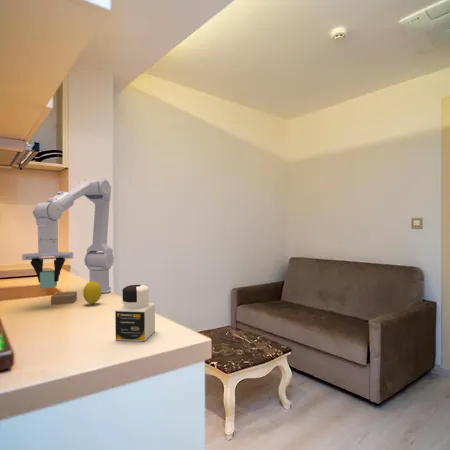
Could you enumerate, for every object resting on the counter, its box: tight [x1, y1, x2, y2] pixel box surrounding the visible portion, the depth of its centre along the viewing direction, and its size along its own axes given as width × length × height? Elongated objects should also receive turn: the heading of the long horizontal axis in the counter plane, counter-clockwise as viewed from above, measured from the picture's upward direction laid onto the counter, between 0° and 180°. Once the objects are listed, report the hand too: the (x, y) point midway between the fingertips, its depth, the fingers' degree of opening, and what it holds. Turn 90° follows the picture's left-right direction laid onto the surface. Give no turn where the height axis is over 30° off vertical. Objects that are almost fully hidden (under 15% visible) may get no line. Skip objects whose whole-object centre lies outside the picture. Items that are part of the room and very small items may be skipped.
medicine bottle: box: [114, 284, 156, 342], centre depth 79 cm, size 7×7×12 cm
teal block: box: [39, 269, 58, 289], centre depth 107 cm, size 4×4×5 cm
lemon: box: [82, 281, 102, 306], centre depth 110 cm, size 6×6×8 cm
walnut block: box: [50, 290, 78, 306], centre depth 115 cm, size 7×7×3 cm
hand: (48, 281), depth 107 cm, fingers closed on teal block, 4 cm apart
